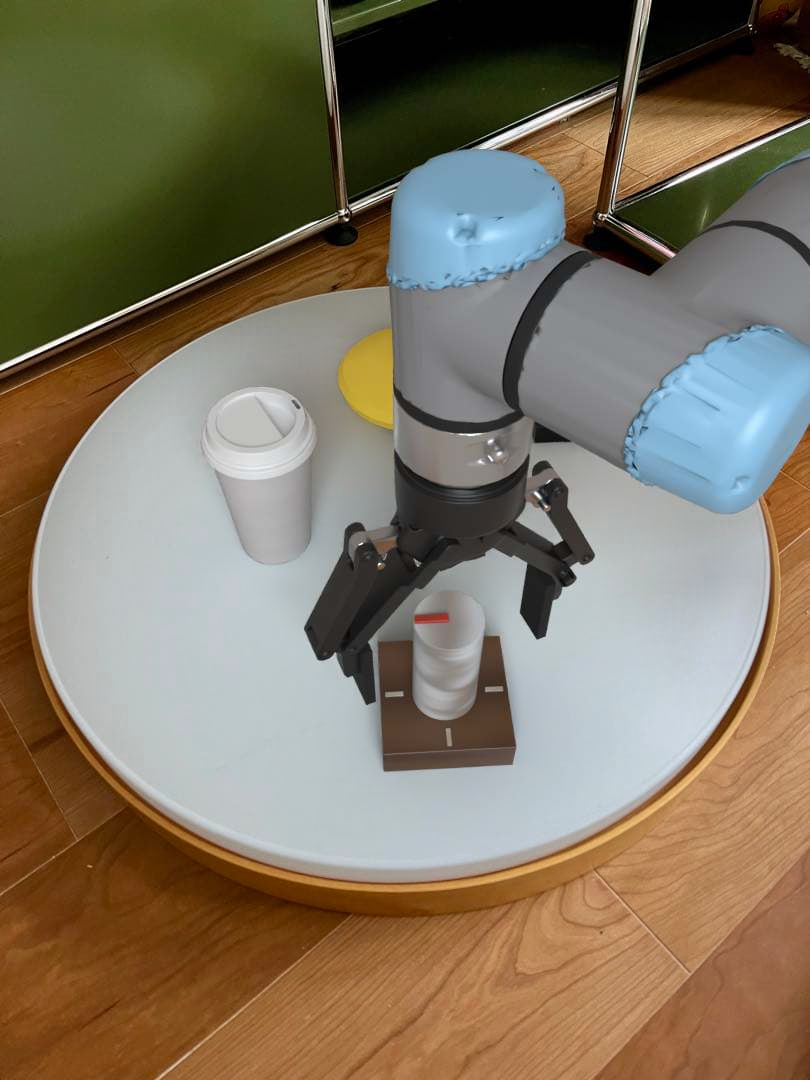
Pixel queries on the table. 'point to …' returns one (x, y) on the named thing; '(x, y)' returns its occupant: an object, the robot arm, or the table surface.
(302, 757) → the table surface
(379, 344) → the yellow funnel lid
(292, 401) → the coffee cup
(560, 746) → the table surface
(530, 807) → the table surface
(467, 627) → the tap knob
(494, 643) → the panel
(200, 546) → the table surface
